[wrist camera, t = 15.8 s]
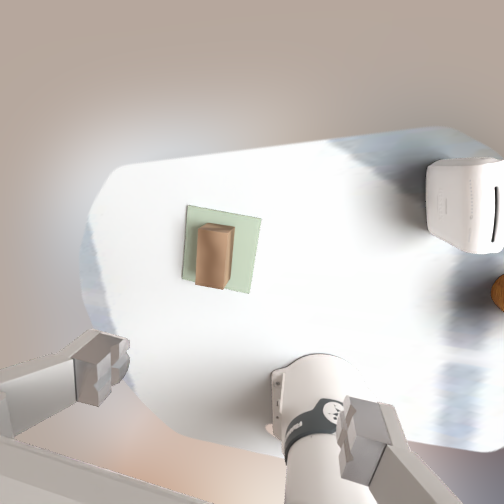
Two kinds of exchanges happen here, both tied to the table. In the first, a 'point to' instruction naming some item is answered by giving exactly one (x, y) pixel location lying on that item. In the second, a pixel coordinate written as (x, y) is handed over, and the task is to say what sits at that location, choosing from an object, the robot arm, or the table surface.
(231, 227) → the box
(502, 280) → the disposable coffee cup
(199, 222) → the rubber mat
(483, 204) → the photo printer
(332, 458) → the robot arm
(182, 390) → the table surface
